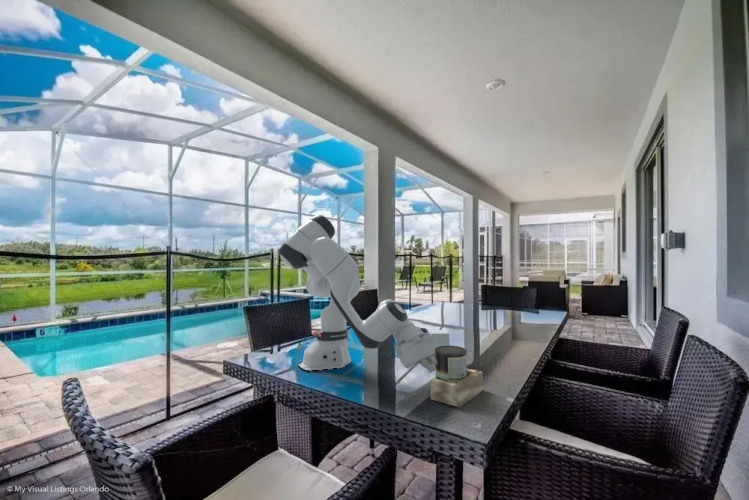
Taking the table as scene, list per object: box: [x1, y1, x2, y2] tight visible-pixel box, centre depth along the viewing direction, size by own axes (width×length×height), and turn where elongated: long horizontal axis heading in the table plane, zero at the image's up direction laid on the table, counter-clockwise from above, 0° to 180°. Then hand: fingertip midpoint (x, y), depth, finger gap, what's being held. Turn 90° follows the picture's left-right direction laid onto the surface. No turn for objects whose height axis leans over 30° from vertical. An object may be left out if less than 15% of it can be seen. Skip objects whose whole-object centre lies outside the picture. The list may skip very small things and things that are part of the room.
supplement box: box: [430, 329, 450, 364], centre depth 148 cm, size 7×7×13 cm
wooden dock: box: [429, 368, 484, 408], centre depth 112 cm, size 10×17×6 cm, turn 140°
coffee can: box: [434, 345, 468, 384], centre depth 114 cm, size 10×10×14 cm
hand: (433, 370), depth 118 cm, fingers closed
